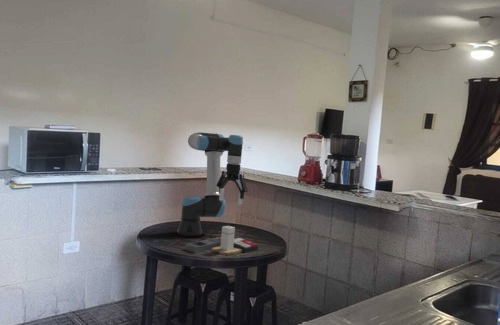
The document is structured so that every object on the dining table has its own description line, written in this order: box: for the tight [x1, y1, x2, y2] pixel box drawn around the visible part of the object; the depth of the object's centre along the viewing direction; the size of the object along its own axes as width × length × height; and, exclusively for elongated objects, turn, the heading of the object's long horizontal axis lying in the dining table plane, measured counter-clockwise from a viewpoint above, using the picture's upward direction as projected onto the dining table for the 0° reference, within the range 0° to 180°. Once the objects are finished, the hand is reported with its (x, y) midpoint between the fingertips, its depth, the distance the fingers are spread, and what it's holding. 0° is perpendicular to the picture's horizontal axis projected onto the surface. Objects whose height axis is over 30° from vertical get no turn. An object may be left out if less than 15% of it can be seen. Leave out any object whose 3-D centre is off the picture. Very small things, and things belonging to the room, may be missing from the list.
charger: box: [220, 225, 236, 251], centre depth 224 cm, size 5×5×12 cm
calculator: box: [233, 237, 259, 254], centre depth 233 cm, size 11×4×15 cm
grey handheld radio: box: [184, 236, 221, 254], centre depth 230 cm, size 32×8×4 cm, turn 142°
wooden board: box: [211, 246, 243, 256], centre depth 225 cm, size 12×12×1 cm
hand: (230, 202), depth 224 cm, fingers open, 13 cm apart
